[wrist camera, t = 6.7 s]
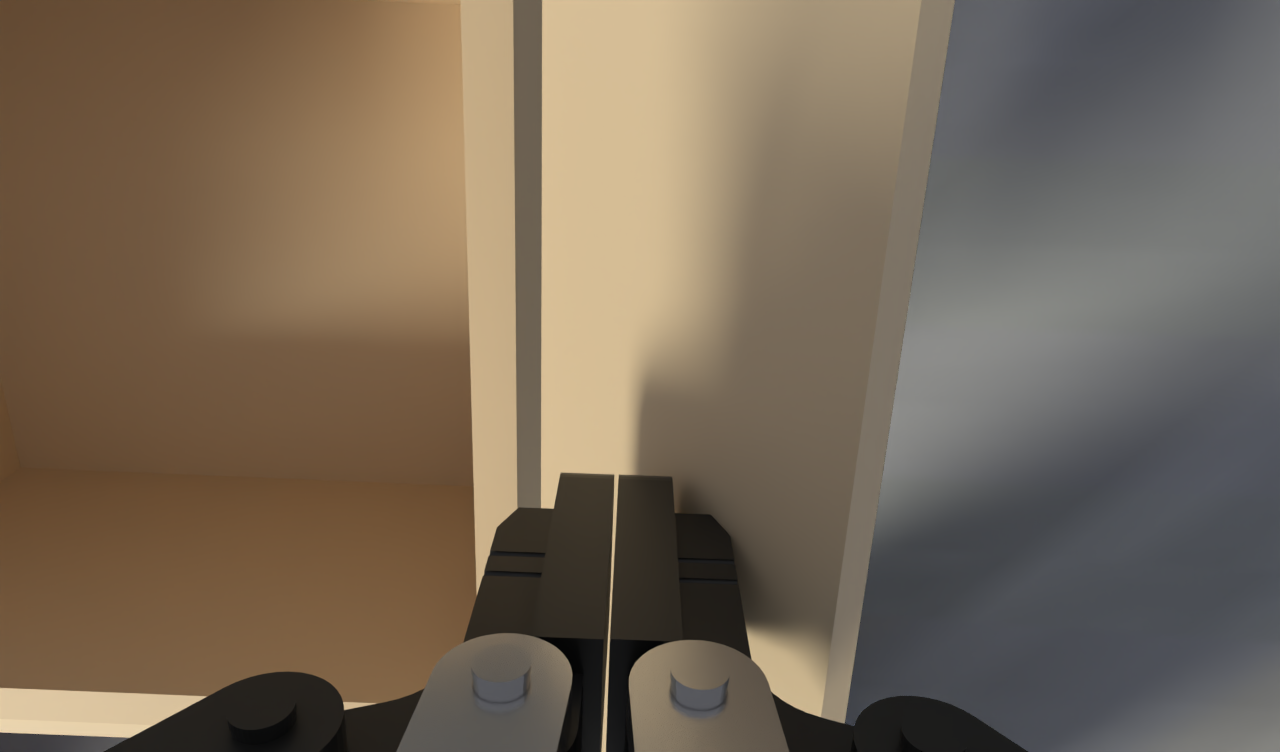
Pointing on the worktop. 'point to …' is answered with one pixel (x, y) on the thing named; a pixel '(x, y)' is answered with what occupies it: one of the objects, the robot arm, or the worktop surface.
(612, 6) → the panel
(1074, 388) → the worktop surface
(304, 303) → the carton
